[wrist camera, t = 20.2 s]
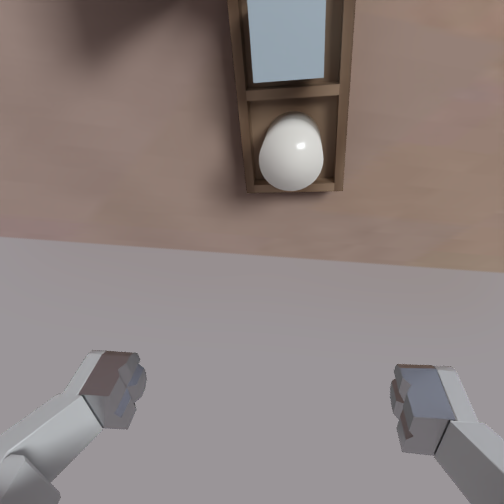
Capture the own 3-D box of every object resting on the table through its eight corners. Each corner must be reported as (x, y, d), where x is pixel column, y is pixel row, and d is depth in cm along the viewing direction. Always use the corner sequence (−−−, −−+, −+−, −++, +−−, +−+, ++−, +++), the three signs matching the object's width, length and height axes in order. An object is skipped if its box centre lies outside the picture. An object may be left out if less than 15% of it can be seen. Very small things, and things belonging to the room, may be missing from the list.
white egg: (267, 167, 33) (261, 192, 28) (263, 113, 30) (256, 130, 25) (320, 164, 32) (322, 189, 27) (320, 108, 30) (324, 125, 25)
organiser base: (250, 182, 36) (246, 193, 33) (231, -25, 26) (223, -29, 24) (340, 179, 34) (342, 191, 32) (354, -41, 25) (358, -47, 22)
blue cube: (261, 73, 29) (253, 82, 25) (256, 0, 26) (247, -3, 22) (321, 69, 28) (323, 77, 24) (323, -8, 25) (326, -13, 21)
